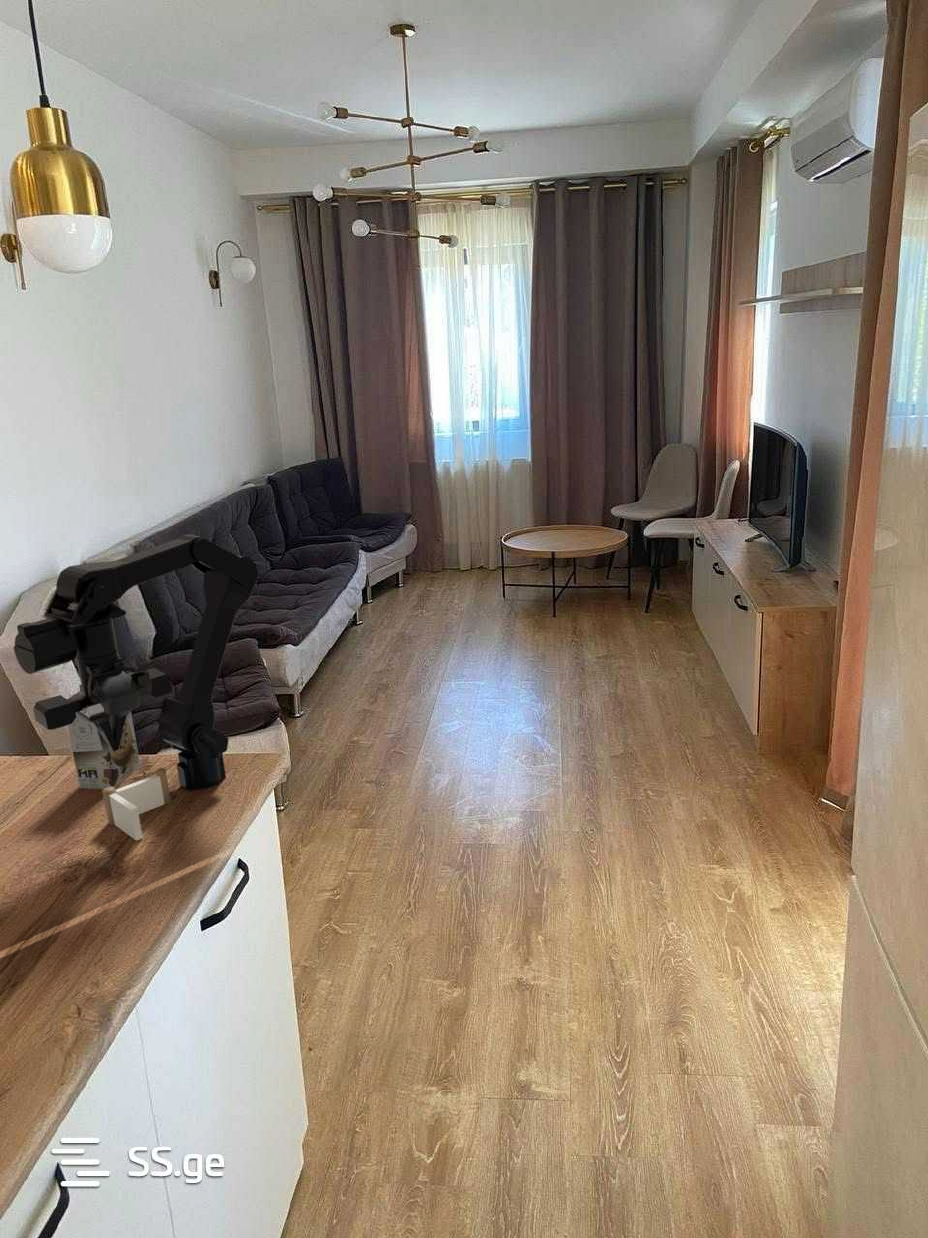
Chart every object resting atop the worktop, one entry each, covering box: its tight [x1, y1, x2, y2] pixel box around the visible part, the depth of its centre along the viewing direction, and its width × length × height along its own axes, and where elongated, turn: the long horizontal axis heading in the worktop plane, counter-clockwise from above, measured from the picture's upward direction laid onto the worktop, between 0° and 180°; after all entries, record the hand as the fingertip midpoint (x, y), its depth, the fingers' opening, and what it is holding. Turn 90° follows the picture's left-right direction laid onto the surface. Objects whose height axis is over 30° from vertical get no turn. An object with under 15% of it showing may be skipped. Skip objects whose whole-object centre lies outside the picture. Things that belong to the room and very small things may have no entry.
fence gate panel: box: [109, 793, 144, 841], centre depth 135 cm, size 7×1×5 cm, turn 45°
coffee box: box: [66, 690, 141, 790], centre depth 152 cm, size 9×6×16 cm
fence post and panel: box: [101, 767, 172, 826], centre depth 141 cm, size 10×2×6 cm, turn 133°
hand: (114, 750), depth 137 cm, fingers closed
